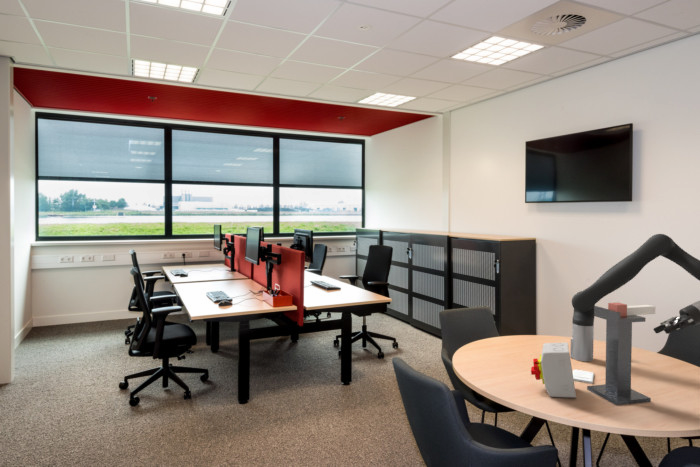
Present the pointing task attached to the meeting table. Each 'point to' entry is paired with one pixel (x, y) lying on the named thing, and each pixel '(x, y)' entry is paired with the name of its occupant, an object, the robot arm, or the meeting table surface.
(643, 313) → the white bar pink end
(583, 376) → the external hard drive
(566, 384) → the electrical switch box
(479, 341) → the meeting table surface
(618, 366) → the headphone stand
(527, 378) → the meeting table surface
